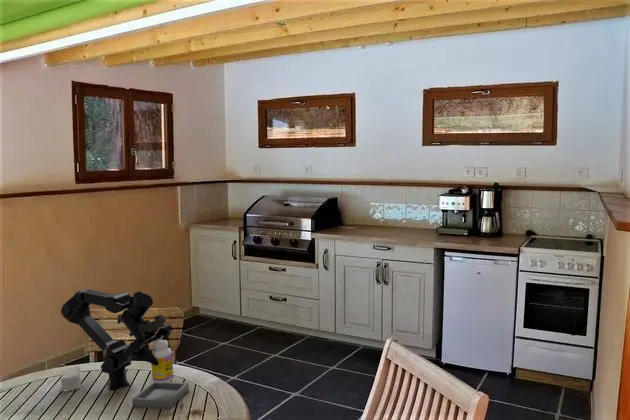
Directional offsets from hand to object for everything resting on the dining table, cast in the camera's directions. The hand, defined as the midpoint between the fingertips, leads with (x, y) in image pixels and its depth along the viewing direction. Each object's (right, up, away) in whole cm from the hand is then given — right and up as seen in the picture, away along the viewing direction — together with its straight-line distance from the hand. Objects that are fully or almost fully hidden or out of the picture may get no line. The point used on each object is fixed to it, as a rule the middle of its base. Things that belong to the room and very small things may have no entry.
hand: (165, 360), depth 172 cm
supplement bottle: (-1, -7, +1) cm, 7 cm away
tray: (-1, -12, 0) cm, 12 cm away
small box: (-36, -13, +12) cm, 40 cm away
